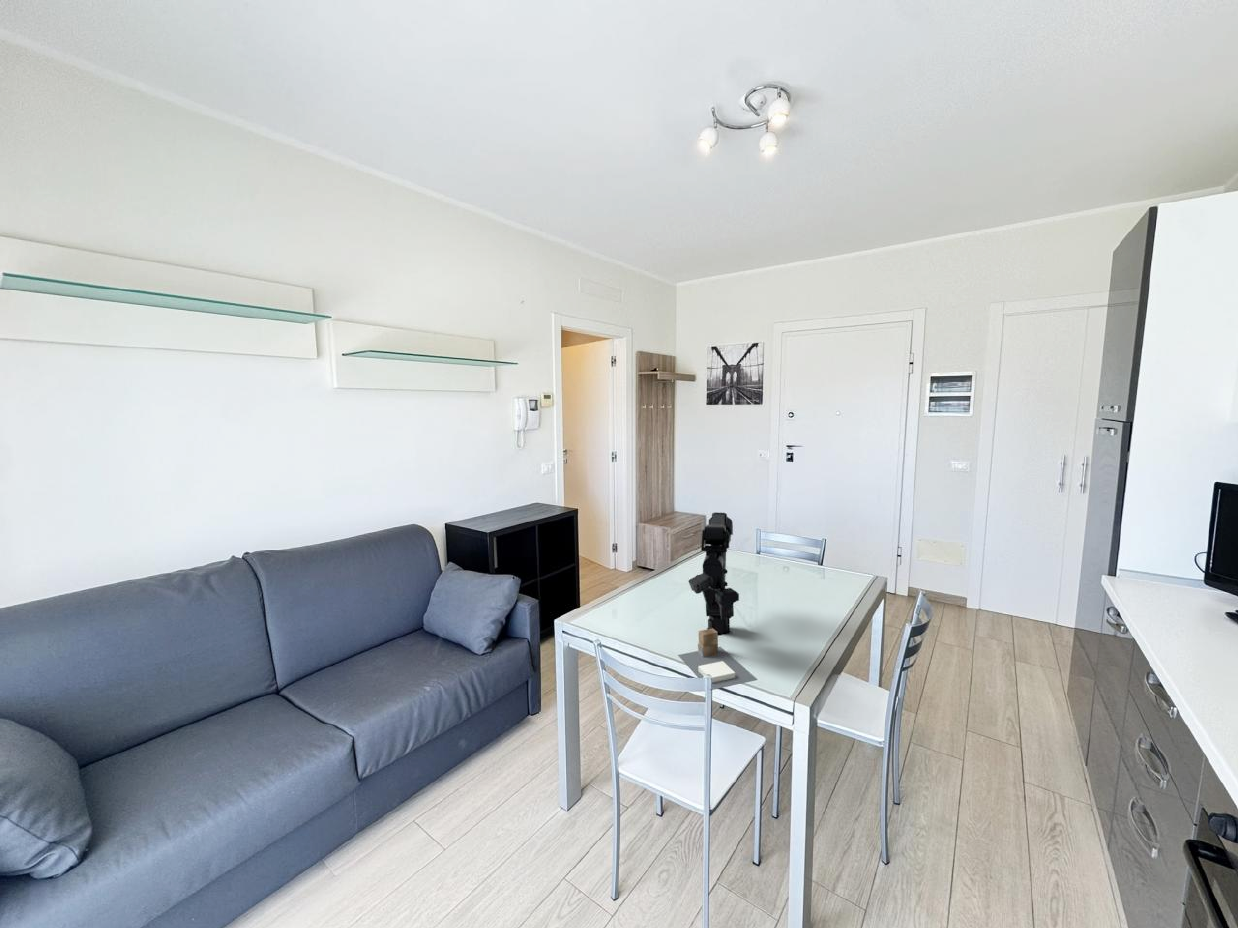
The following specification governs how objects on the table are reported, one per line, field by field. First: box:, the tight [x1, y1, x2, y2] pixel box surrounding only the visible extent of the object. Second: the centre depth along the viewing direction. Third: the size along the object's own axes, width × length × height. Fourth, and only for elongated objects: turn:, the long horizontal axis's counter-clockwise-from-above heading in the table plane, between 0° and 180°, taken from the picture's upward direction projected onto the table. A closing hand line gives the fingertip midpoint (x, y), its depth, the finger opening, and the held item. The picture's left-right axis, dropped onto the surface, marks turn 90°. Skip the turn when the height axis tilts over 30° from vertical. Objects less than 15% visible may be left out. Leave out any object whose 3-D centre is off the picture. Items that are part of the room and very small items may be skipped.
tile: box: [698, 661, 735, 683], centre depth 143 cm, size 2×7×8 cm
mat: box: [677, 646, 758, 691], centre depth 147 cm, size 15×21×1 cm
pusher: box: [697, 628, 719, 657], centre depth 155 cm, size 5×3×7 cm, turn 109°
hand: (715, 613), depth 157 cm, fingers open, 9 cm apart
